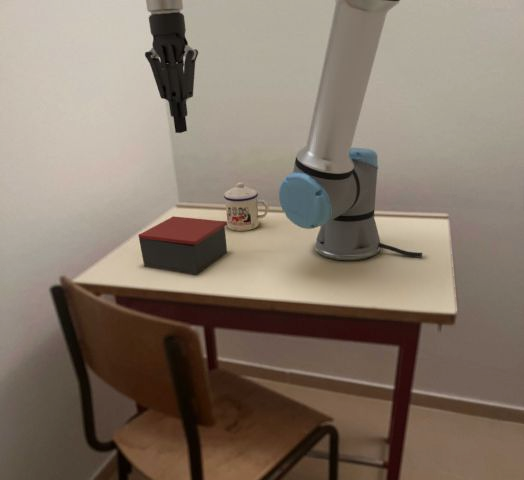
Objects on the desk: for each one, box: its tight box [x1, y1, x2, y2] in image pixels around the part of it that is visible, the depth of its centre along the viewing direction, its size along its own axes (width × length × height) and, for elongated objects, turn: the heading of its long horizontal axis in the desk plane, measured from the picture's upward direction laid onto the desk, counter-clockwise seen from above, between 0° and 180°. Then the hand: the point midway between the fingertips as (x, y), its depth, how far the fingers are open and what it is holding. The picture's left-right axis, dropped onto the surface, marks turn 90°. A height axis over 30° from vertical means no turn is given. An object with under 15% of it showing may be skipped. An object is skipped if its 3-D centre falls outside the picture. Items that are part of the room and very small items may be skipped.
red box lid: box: [138, 216, 228, 245], centre depth 120 cm, size 16×14×1 cm
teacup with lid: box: [223, 181, 270, 232], centre depth 139 cm, size 12×9×12 cm
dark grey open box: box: [138, 226, 228, 276], centre depth 122 cm, size 15×14×7 cm
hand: (181, 131), depth 122 cm, fingers closed
